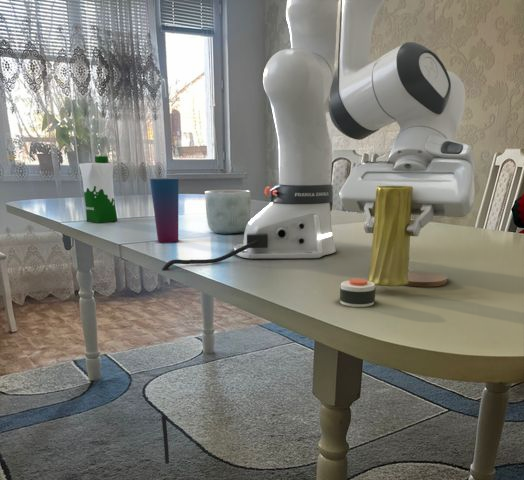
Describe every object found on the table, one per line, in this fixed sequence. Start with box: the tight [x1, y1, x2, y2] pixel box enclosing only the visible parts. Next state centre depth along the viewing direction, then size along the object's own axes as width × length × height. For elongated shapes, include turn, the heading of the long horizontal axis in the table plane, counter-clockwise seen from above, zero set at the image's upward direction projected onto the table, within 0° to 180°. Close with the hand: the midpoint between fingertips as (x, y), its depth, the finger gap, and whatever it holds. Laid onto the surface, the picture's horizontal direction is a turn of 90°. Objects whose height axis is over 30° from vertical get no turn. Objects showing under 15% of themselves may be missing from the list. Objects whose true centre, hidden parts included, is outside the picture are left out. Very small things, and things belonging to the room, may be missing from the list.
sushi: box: [339, 278, 376, 308], centre depth 78 cm, size 5×5×3 cm
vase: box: [367, 186, 413, 288], centre depth 82 cm, size 6×6×14 cm
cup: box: [149, 177, 179, 244], centre depth 133 cm, size 7×7×15 cm
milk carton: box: [78, 155, 118, 224], centre depth 174 cm, size 9×9×20 cm
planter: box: [204, 189, 252, 235], centre depth 148 cm, size 12×12×11 cm
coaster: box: [405, 270, 448, 288], centre depth 92 cm, size 9×9×1 cm
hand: (390, 232), depth 81 cm, fingers closed on vase, 5 cm apart
